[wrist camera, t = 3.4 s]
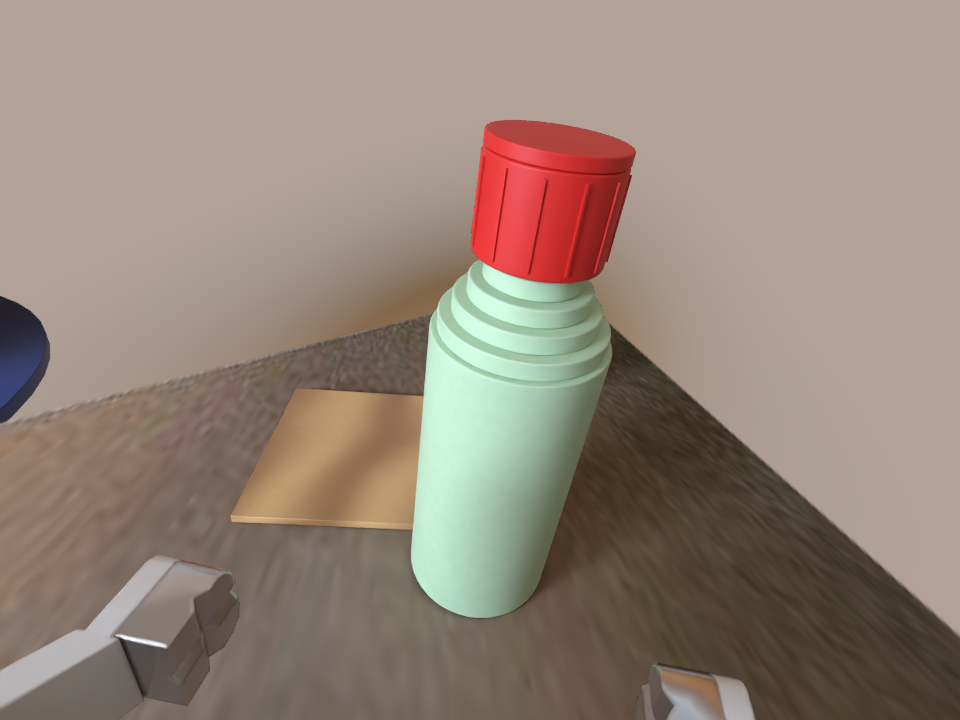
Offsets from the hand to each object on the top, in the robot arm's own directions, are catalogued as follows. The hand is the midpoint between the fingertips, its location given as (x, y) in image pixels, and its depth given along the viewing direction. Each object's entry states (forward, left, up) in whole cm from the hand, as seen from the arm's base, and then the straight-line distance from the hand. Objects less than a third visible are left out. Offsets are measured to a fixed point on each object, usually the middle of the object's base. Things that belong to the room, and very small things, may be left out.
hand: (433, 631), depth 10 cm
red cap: (+2, +9, +5) cm, 10 cm away
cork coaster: (-4, +17, -10) cm, 20 cm away
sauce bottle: (+2, +10, -10) cm, 14 cm away
